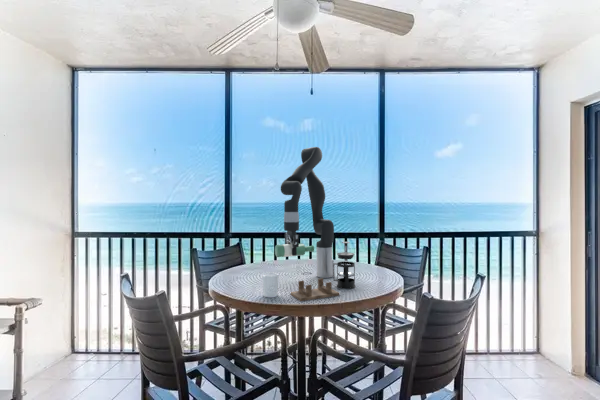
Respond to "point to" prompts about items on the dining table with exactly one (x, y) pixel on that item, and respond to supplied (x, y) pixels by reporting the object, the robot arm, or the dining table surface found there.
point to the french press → (345, 270)
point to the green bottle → (286, 250)
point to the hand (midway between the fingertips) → (291, 254)
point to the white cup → (270, 284)
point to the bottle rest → (314, 291)
